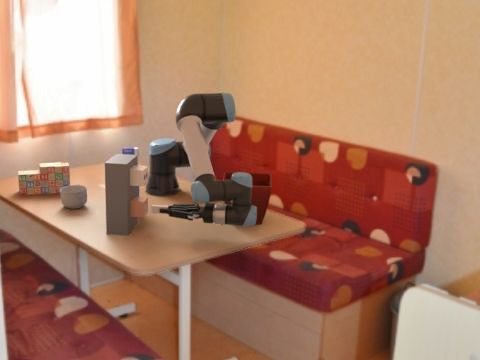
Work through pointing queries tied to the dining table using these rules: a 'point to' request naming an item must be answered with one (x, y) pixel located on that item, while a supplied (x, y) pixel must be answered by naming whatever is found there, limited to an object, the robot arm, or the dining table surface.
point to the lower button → (138, 206)
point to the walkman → (130, 151)
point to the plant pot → (257, 192)
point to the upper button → (138, 175)
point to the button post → (119, 194)
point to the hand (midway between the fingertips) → (151, 208)
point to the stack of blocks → (44, 179)
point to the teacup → (74, 196)
